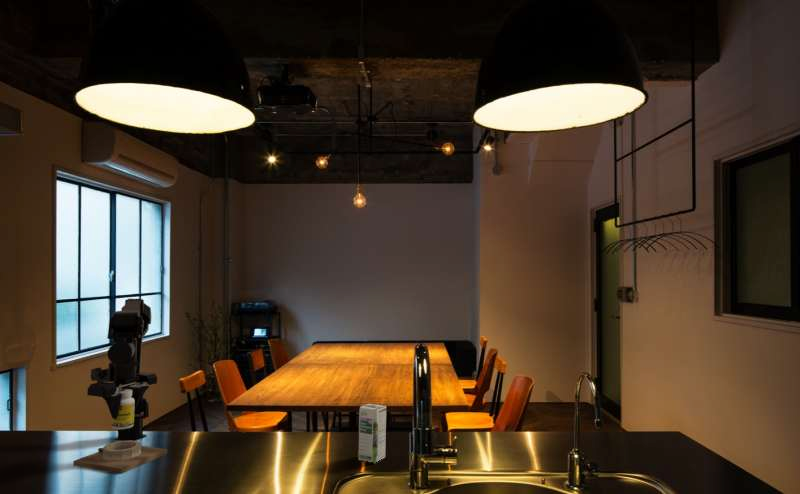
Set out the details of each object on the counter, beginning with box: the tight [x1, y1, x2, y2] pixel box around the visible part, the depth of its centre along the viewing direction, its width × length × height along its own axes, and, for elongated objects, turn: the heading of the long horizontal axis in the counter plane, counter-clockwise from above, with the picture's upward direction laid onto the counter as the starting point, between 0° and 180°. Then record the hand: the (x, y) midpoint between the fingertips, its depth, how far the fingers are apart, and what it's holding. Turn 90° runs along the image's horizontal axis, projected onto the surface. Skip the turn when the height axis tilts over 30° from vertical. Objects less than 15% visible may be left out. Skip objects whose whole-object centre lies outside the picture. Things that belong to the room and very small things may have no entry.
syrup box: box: [357, 403, 387, 464], centre depth 152 cm, size 6×6×14 cm
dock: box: [72, 440, 168, 475], centre depth 149 cm, size 16×16×4 cm
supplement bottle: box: [111, 389, 135, 430], centre depth 149 cm, size 5×5×10 cm
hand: (123, 415), depth 149 cm, fingers closed on supplement bottle, 5 cm apart
